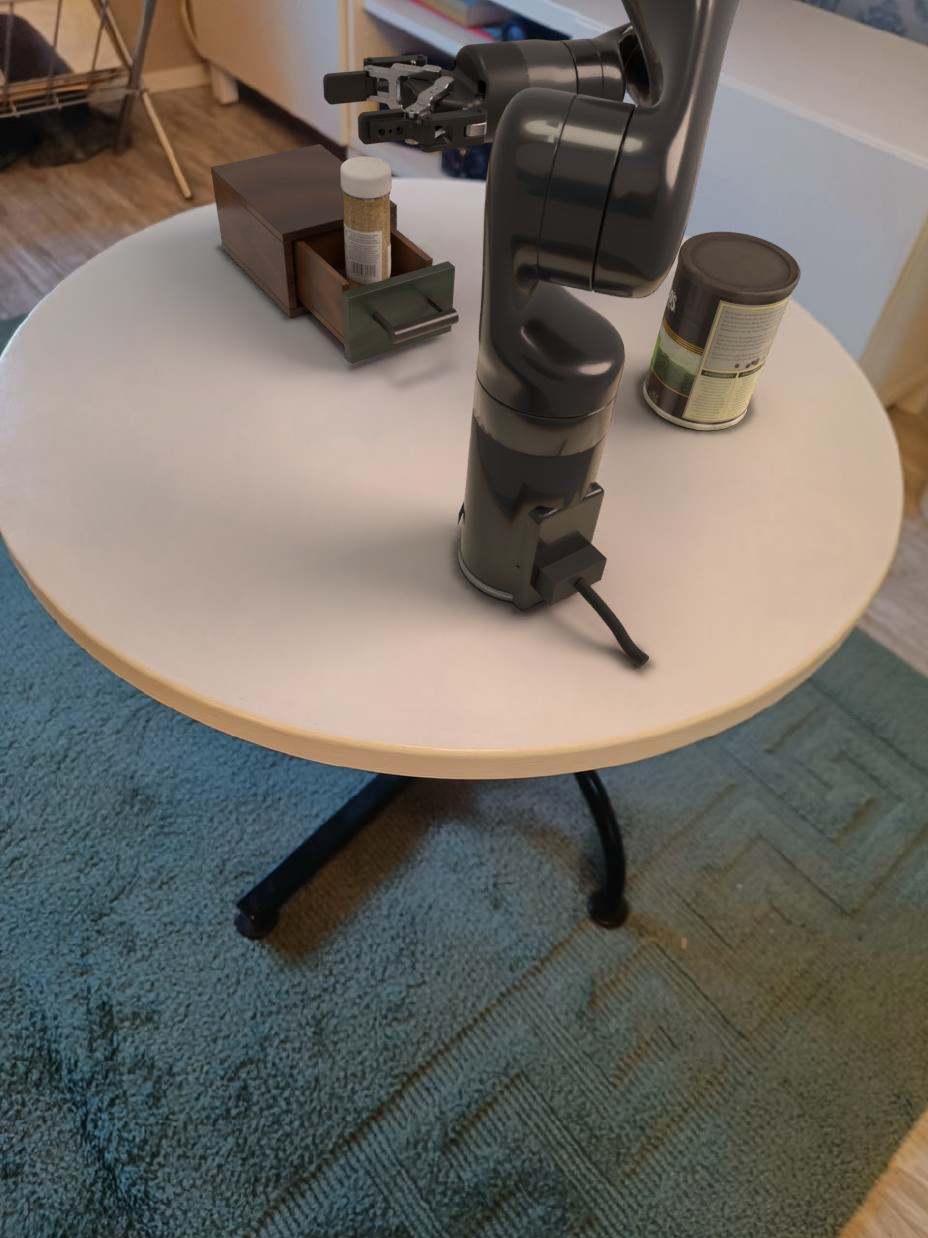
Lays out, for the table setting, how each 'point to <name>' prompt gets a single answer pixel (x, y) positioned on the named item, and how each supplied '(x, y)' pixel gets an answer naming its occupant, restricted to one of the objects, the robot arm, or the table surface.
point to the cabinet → (278, 213)
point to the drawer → (374, 295)
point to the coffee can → (718, 328)
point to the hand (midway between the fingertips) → (341, 108)
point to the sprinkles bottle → (366, 220)
